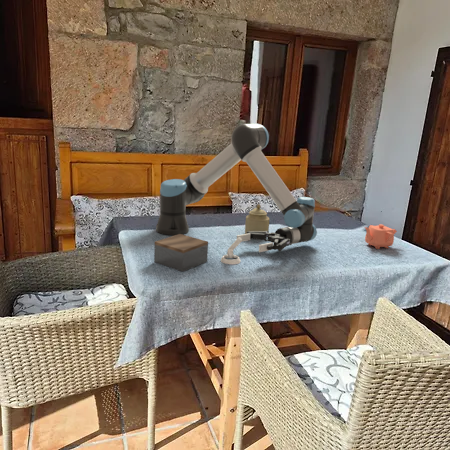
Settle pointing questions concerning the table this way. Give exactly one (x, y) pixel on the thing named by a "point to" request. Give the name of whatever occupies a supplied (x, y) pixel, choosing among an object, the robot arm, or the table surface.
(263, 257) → the table surface
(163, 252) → the block
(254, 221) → the sugar bowl
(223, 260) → the white ring with handle
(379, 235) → the teapot
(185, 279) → the table surface
